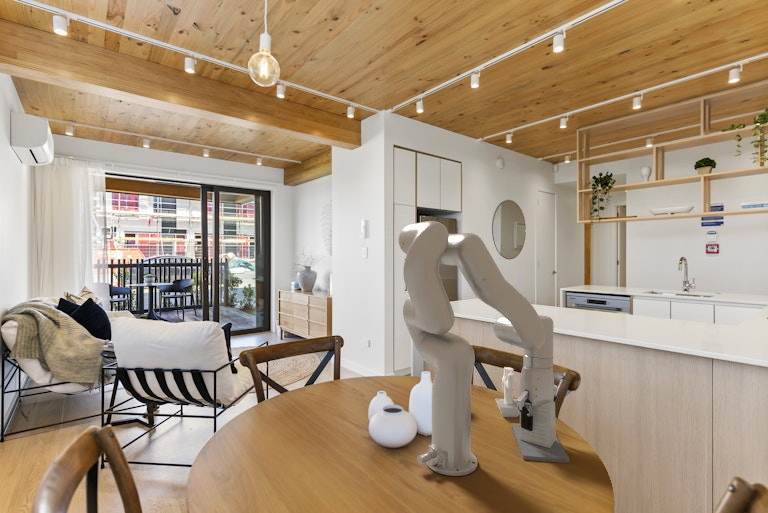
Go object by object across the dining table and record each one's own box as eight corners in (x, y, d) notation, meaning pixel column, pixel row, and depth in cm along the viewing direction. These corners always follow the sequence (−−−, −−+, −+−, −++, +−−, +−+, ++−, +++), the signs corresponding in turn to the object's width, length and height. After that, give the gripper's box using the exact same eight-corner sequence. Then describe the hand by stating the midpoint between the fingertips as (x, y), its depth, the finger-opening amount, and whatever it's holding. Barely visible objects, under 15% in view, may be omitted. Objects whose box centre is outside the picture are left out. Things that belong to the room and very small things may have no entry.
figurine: (516, 408, 130) (516, 363, 130) (524, 421, 121) (524, 372, 121) (494, 408, 131) (494, 363, 131) (500, 420, 121) (500, 372, 121)
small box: (555, 440, 106) (556, 402, 106) (550, 449, 102) (550, 408, 101) (525, 432, 111) (526, 395, 111) (519, 440, 106) (519, 401, 106)
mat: (569, 463, 97) (569, 459, 97) (523, 459, 98) (523, 455, 98) (550, 430, 114) (550, 427, 114) (511, 428, 116) (511, 424, 116)
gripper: (543, 354, 114) (543, 412, 114) (506, 363, 104) (505, 427, 104) (568, 359, 108) (568, 421, 108) (531, 370, 98) (530, 438, 98)
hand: (537, 424), depth 106 cm, fingers open, 9 cm apart
